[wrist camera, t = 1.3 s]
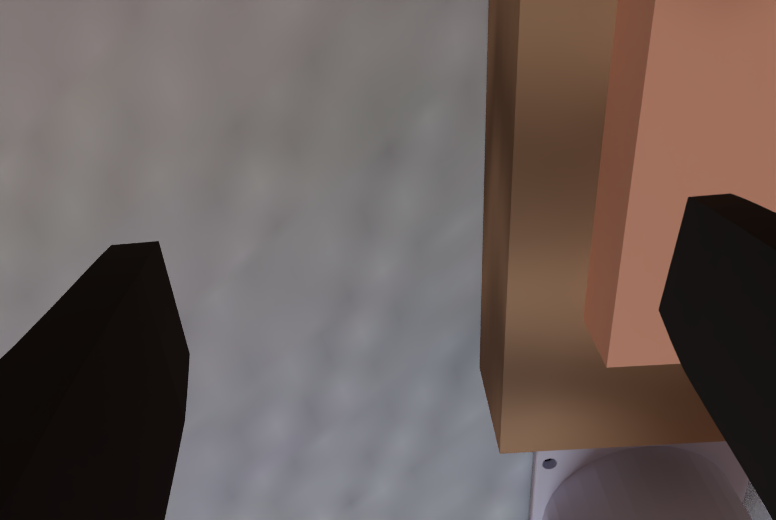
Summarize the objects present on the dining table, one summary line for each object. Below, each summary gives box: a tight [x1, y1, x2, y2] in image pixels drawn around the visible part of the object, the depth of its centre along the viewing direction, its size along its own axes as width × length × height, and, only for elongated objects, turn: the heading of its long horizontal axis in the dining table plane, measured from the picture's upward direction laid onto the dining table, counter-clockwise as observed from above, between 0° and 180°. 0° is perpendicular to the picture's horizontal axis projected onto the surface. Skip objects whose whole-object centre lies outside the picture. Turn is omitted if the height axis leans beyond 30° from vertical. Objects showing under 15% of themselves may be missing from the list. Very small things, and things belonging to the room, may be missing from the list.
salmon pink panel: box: [583, 0, 776, 368], centre depth 15 cm, size 9×6×2 cm, turn 2°
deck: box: [480, 0, 725, 453], centre depth 18 cm, size 18×12×4 cm, turn 2°
